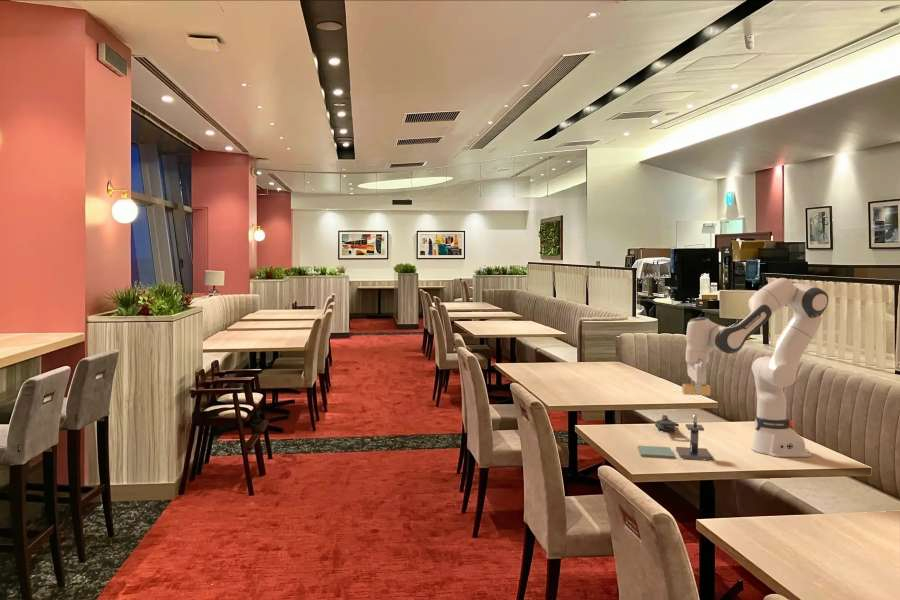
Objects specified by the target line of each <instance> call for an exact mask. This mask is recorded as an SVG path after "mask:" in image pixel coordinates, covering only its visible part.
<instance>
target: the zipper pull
mask: <svg viewBox="0 0 900 600" xmlns="http://www.w3.org/2000/svg"><path fill="white" fill-rule="evenodd" d="M655 426H656V427H657V428H658V429H657V428H656V427H655ZM679 426H680V424H679V423H677V422H675V421H673V420H672V419H670V420H669V417H668V415H665V414H662V415H661V419H659V420H656V421H655V422H654V427H655V428H656V429H657V431H658V432H660V431H663V432H662V433H665V432H674V433H675V429H676V428H675V427H679Z"/></svg>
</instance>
